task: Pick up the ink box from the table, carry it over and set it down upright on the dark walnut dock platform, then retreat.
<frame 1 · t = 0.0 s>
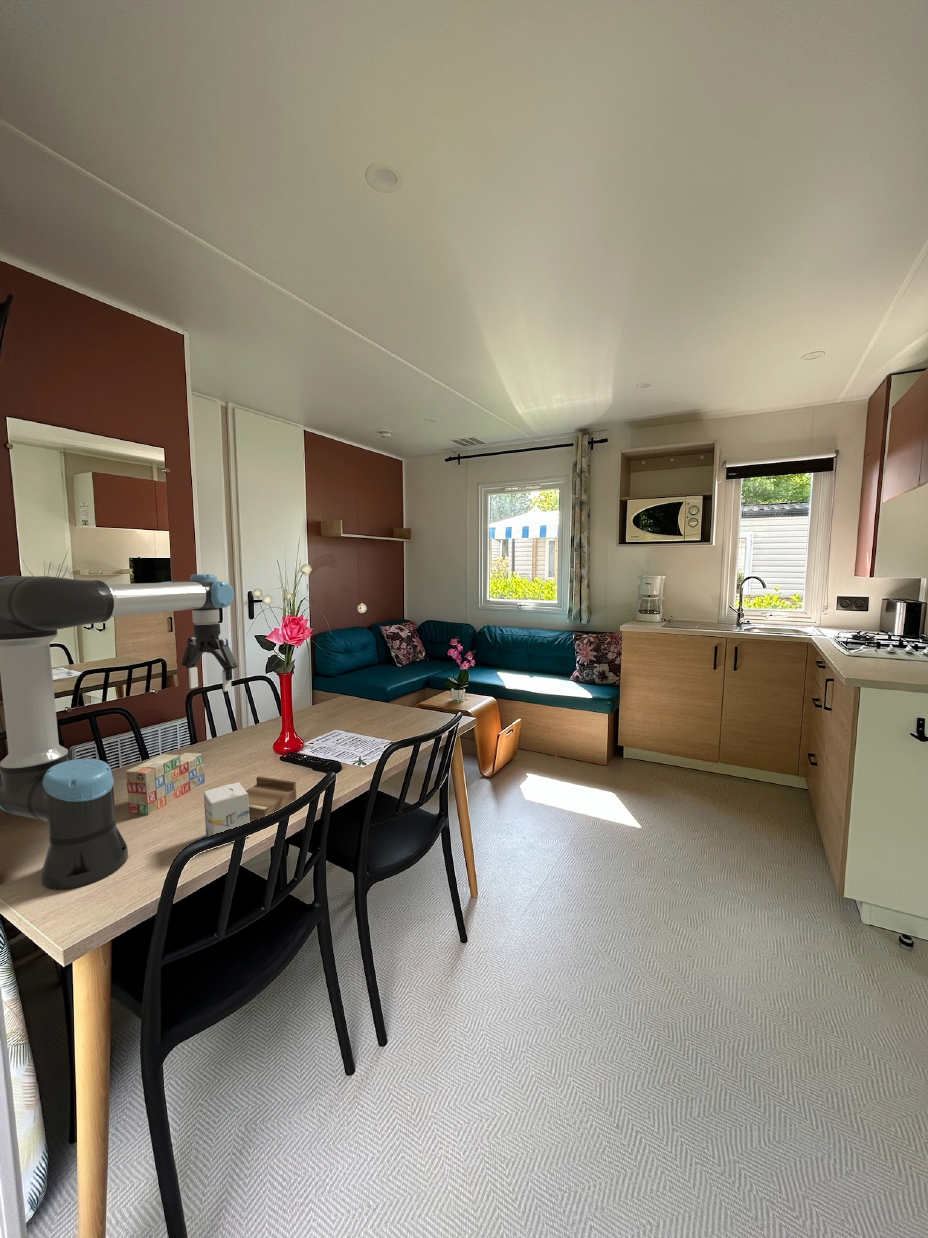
hand: (210, 689, 156), 28 cm above the table, fingers open, 13 cm apart
ink box: (228, 837, 121), on the table
dock: (262, 805, 136), on the table
stack of blocks: (169, 797, 143), on the table
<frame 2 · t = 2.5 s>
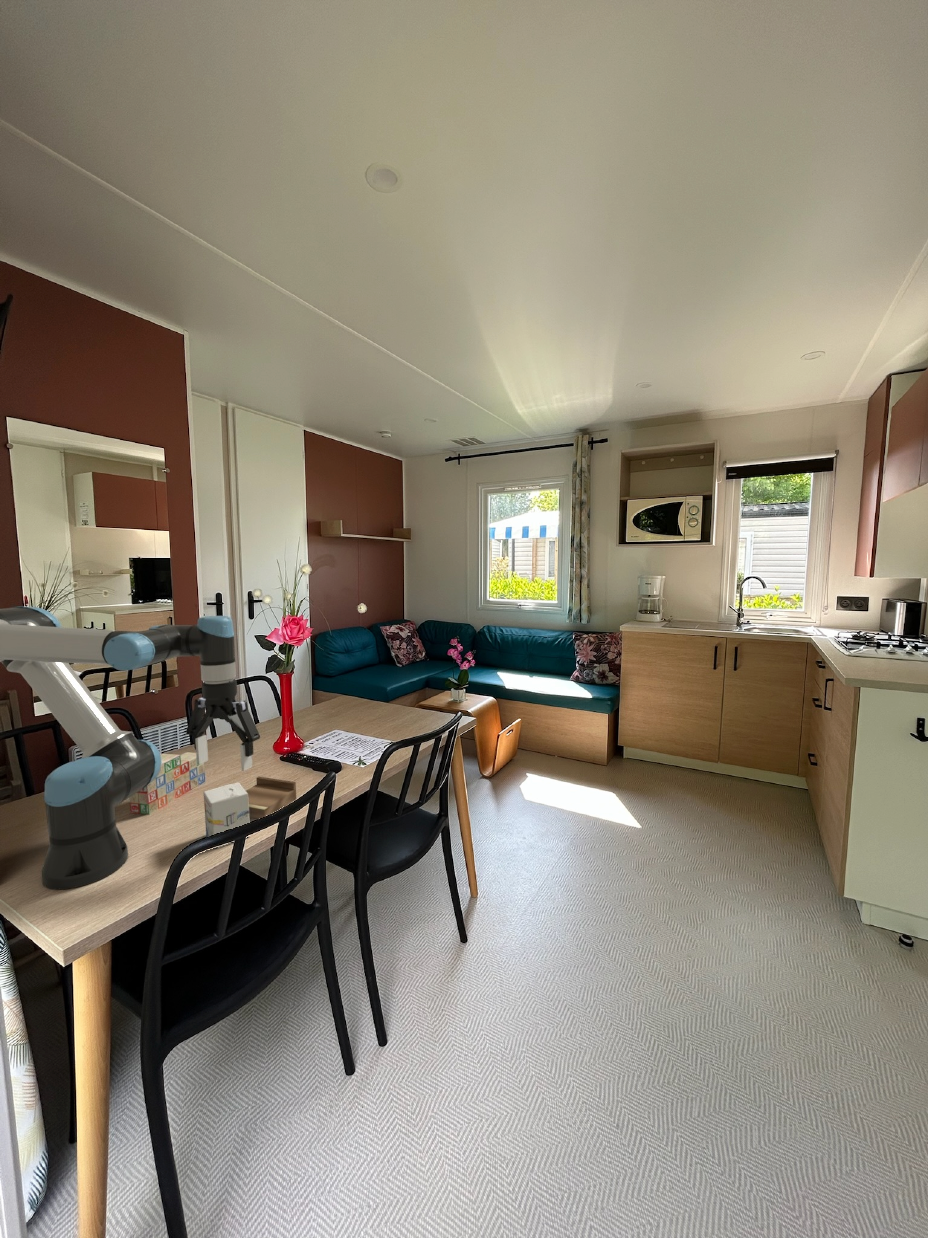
hand: (224, 765, 119), 18 cm above the table, fingers open, 13 cm apart
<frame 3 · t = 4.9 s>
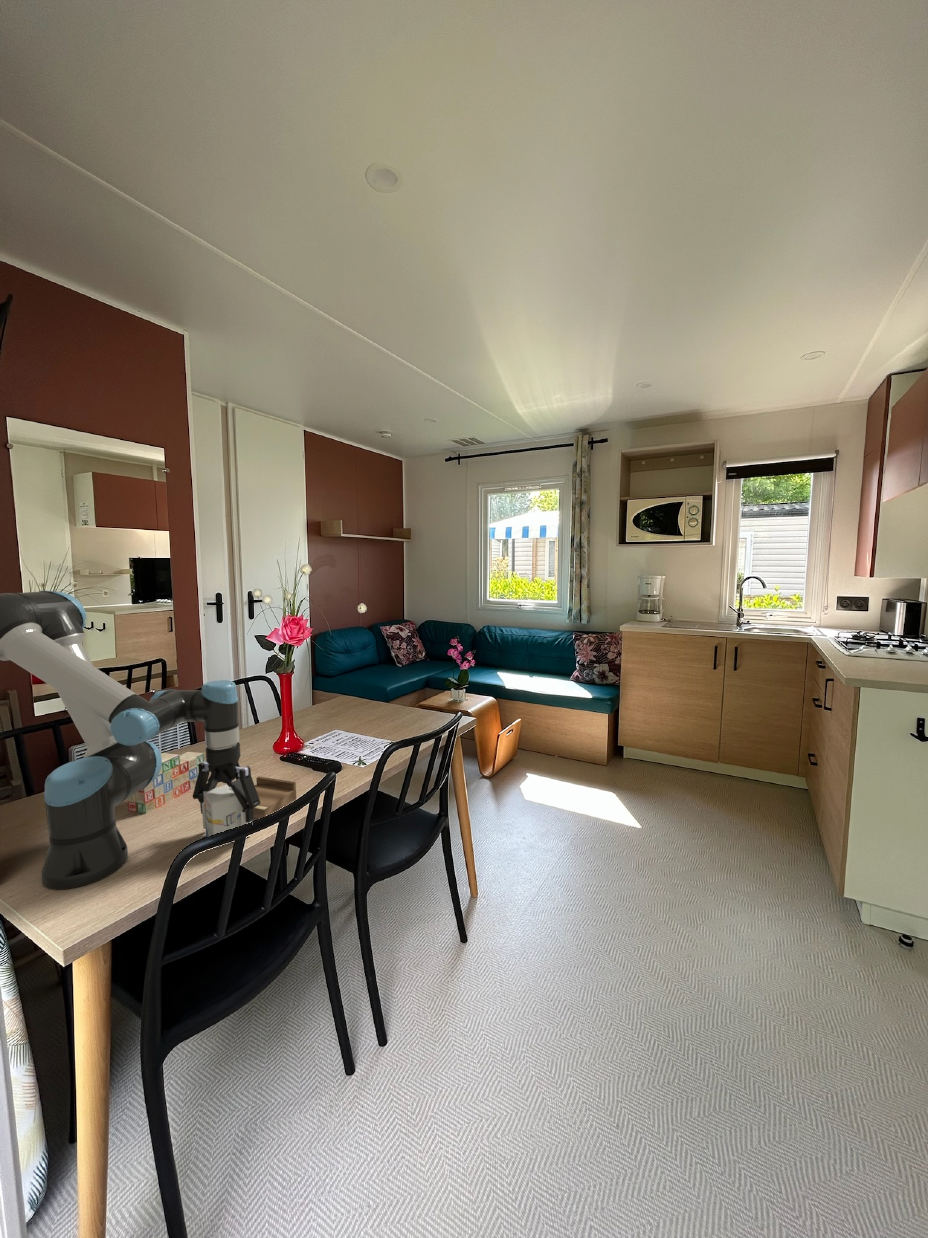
hand: (227, 830, 121), 2 cm above the table, fingers closed on ink box, 11 cm apart
ink box: (227, 837, 121), on the table, touching gripper
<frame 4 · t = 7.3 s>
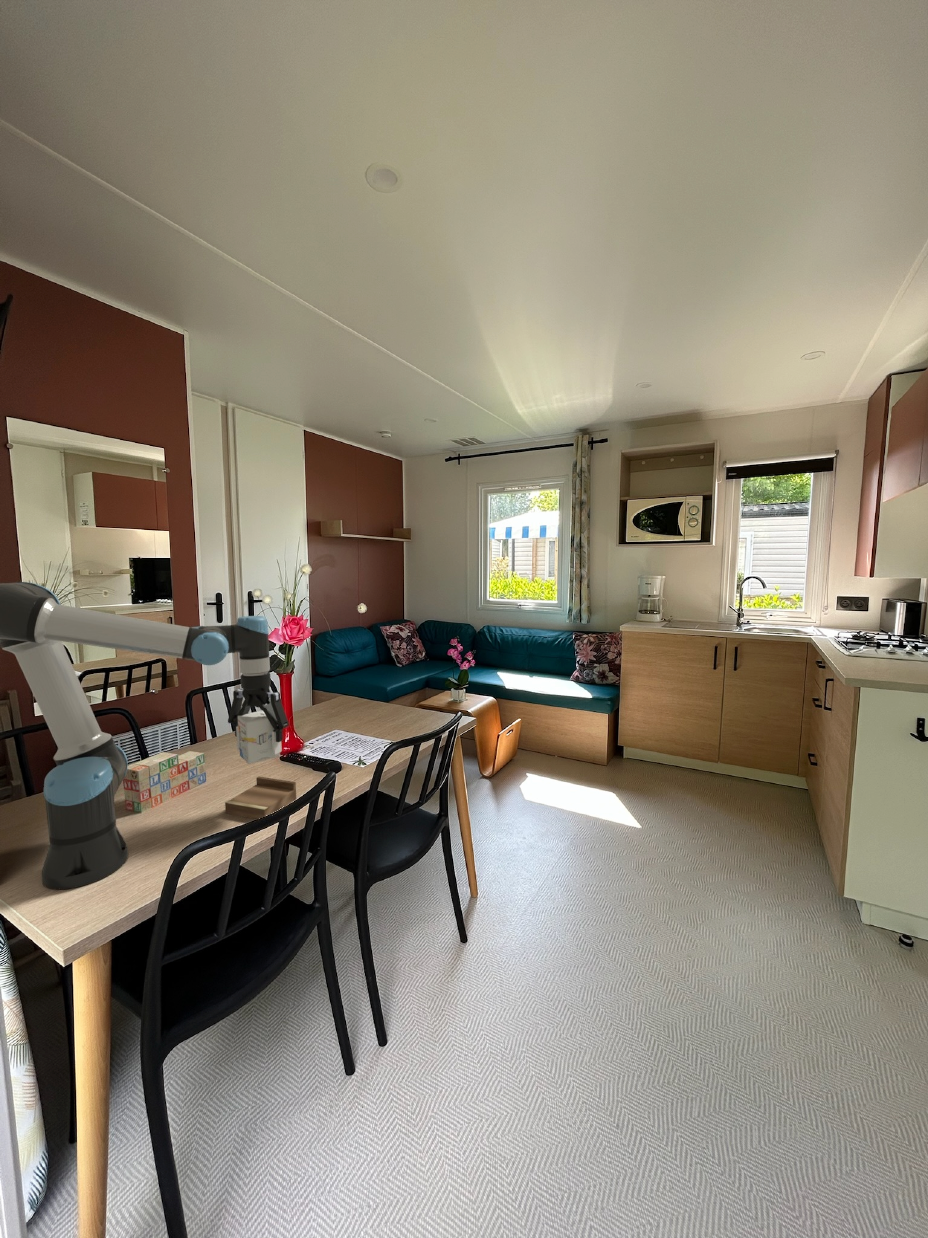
hand: (259, 750, 135), 16 cm above the table, fingers closed on ink box, 11 cm apart
ink box: (259, 757, 135), point 14 cm above the table, touching gripper
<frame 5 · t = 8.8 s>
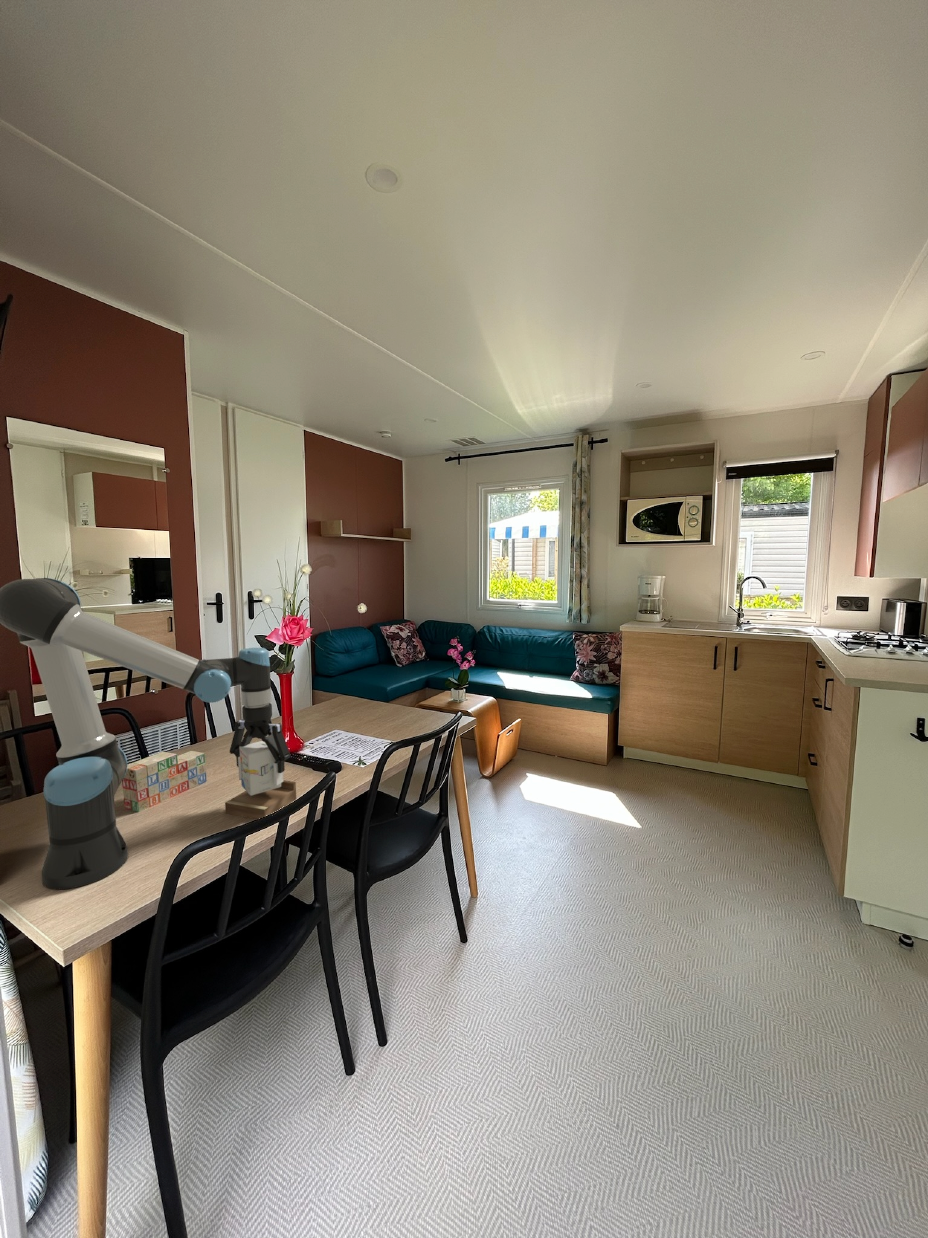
hand: (261, 780, 136), 7 cm above the table, fingers closed on ink box, 11 cm apart
ink box: (261, 787, 136), point 5 cm above the table, touching gripper
when the fingers open (6 cm above the table, at t = 10.1 s): ink box stays where it is, resting on dock.
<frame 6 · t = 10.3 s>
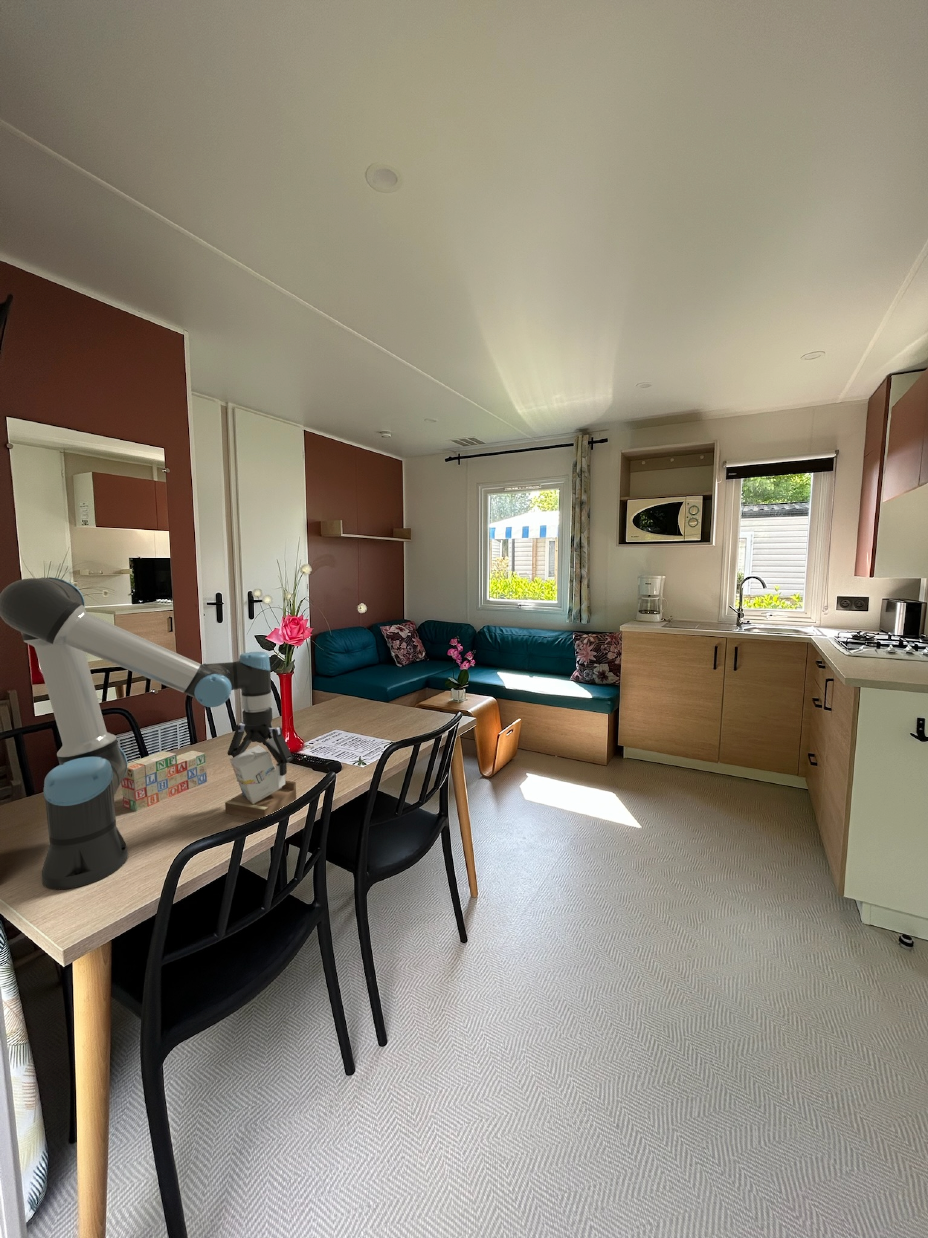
hand: (261, 783, 136), 7 cm above the table, fingers open, 13 cm apart
ink box: (262, 792, 136), point 4 cm above the table, touching dock
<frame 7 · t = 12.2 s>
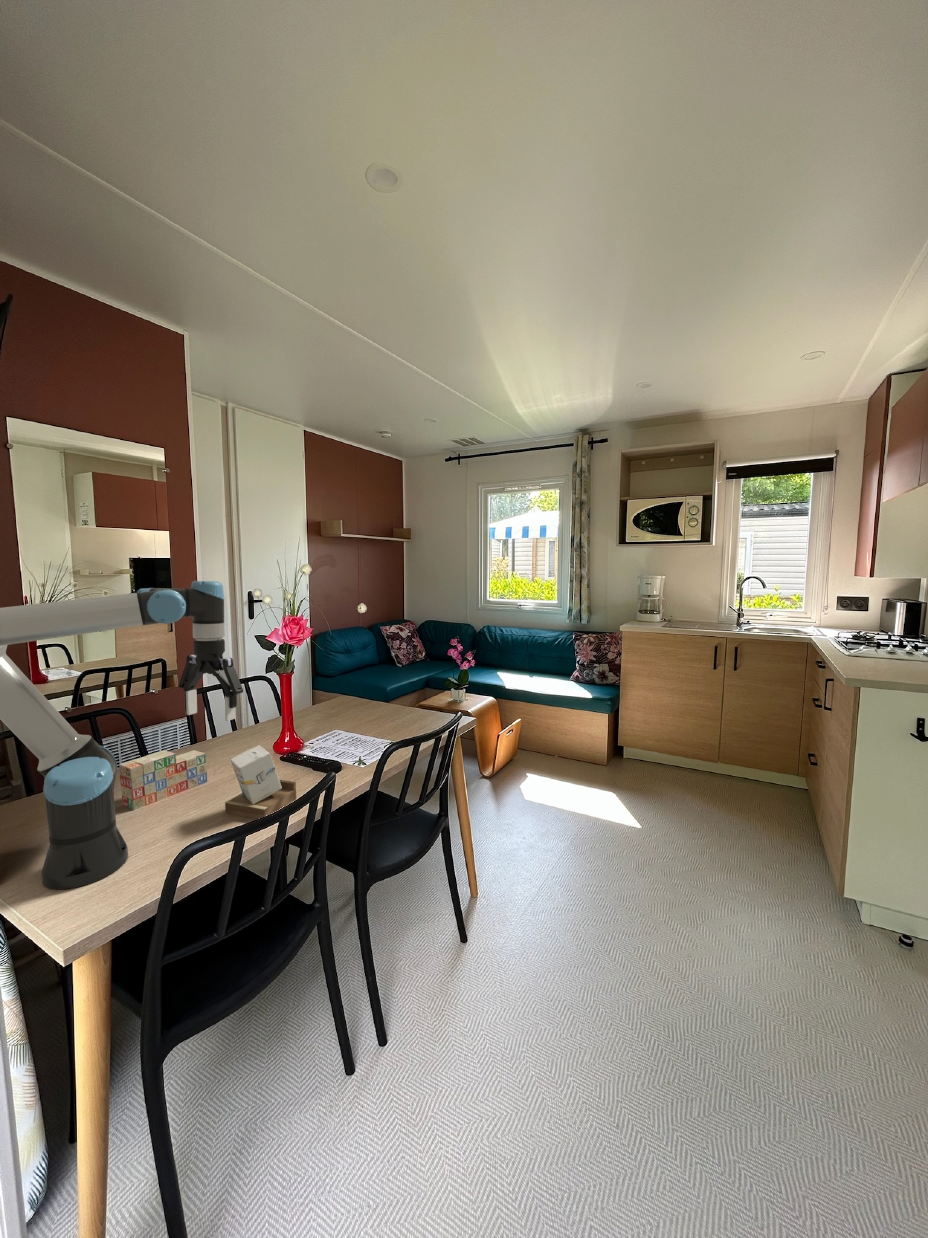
hand: (210, 716, 132), 26 cm above the table, fingers open, 13 cm apart
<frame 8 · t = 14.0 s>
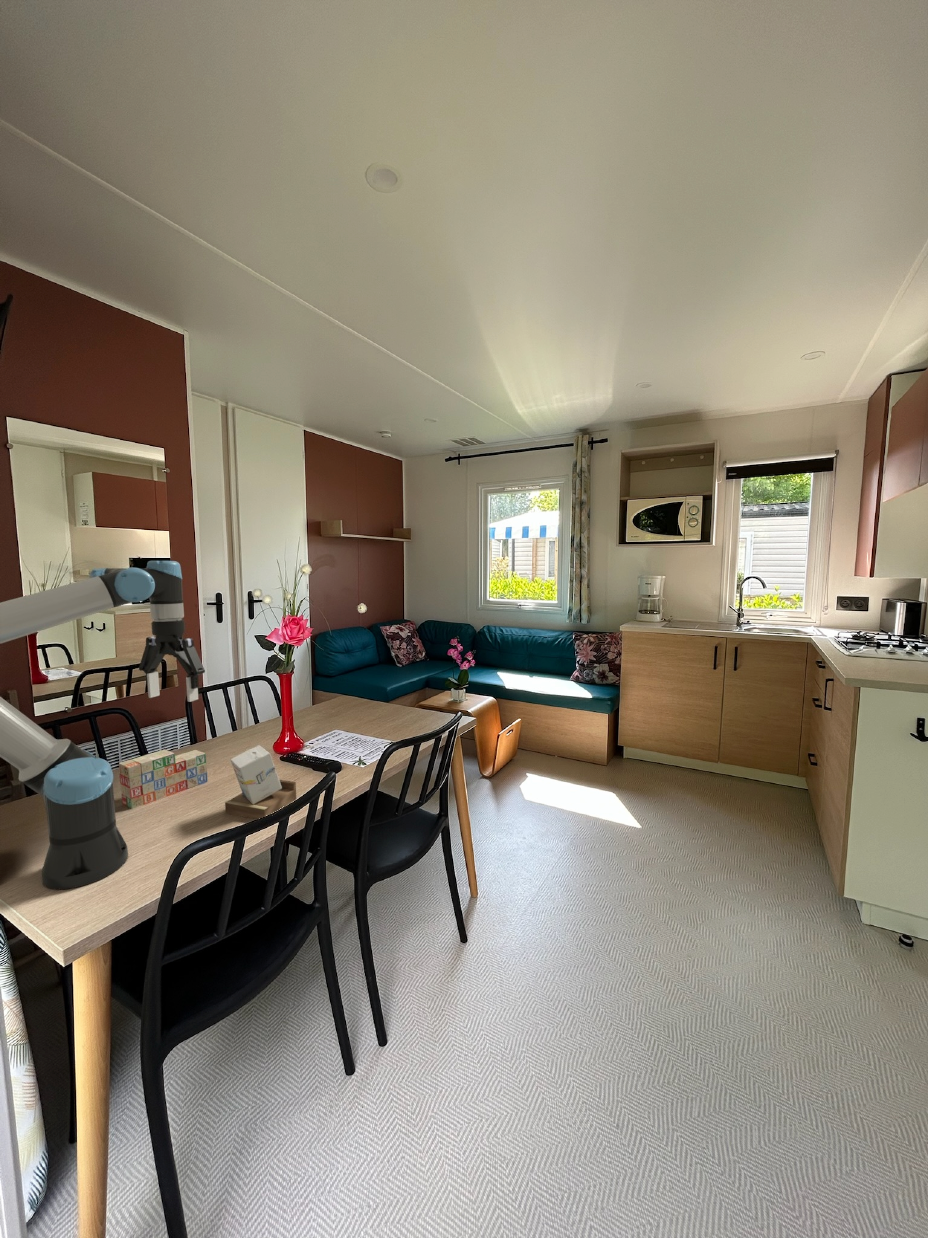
hand: (173, 698, 130), 32 cm above the table, fingers open, 13 cm apart
at the end: ink box inside the target area on the dock (0.3 cm from its centre), point 3.9 cm above the dock's base; ink box tilted 15°; the gripper is holding nothing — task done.
